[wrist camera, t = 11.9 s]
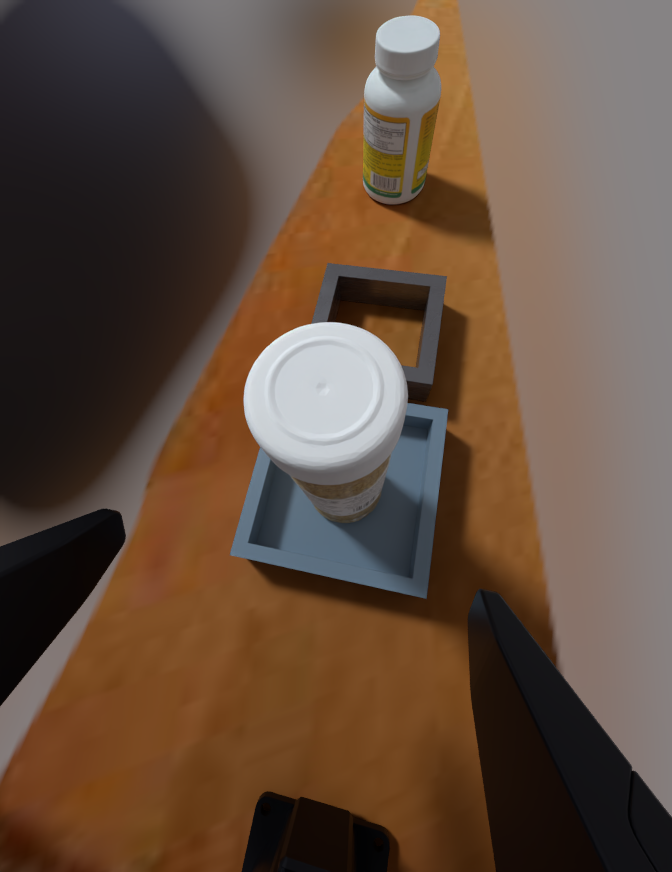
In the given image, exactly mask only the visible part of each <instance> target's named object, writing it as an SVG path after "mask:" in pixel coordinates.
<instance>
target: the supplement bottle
mask: <svg viewBox="0 0 672 872" xmlns="http://www.w3.org/2000/svg"><path fill="white" fill-rule="evenodd" d="M439 40H440V31H439V28H438V26H437V25H436V24H435V23H434V22H432V21H430V20H429V19H426V18H423V17H420V16H401V17H396V18H393V19H391V20H389V21H387V22H385V23H384V24H383V25H382V26H381V27H380V28H379V29H378V31H377V34H376V48H375V62H376V68H375V69H374V70H373V71H372V72H371V74H370V76H369V77H368V79H367V82H366V85H365V91H364V152H363V184H364V188H365V190H366V192H367V193H368V194H369V196H370V197H372V198H373V199H374V200H376V201H378V202H381V203H384V204H401V203H405V202H407V201H410V200H411V199H413V198H414V197H416V196H417V195H418V194H419V192H420V191H421V190H422V188H423V186H424V183H425V179H426V173H427V168H428V163H429V156H430V151H431V145H432V139H433V134H434V129H435V123H436V117H437V112H438V106H439V101H440V95H441V80H440V77H439V74H438V72H437V71H436V69H435V68H434V67H433V66H434V64H435V62H436V60H437V56H438V47H439Z"/></svg>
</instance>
